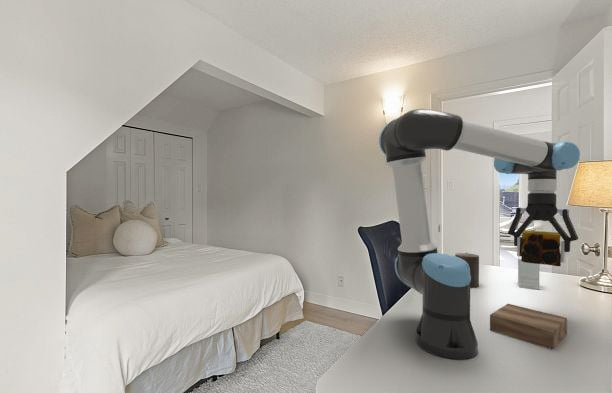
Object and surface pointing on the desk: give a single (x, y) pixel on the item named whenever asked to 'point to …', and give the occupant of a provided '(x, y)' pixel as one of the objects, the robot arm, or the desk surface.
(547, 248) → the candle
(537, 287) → the supplement box
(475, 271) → the pillar candle
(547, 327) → the walnut block
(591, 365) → the desk surface
